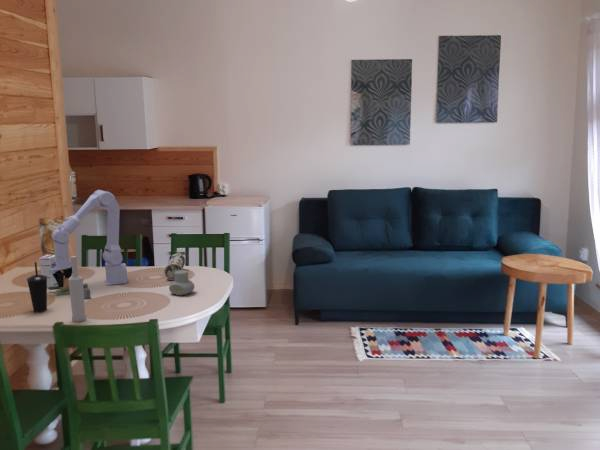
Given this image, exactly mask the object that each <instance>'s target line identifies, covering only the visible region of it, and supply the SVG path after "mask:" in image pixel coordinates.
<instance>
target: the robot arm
mask: <svg viewBox="0 0 600 450" xmlns="http://www.w3.org/2000/svg"><path fill="white" fill-rule="evenodd" d="M98 207H103V208H104V209H105V210H106V211H107V221H106V222H107V225H106V226H107V228H106V245H105V246H104V251H103V253H102V259H103V260H104V261H105V263H104V267H105V279H106V280H104V283H105V285H106V286H113V285H114V286H115V285H121V284H127V283H129V282H128V270H127V265H126V263H125V262H124V263H123V260H124V259H123V257H124V256H123V254H122V248H121V247H120V245H119V243H120V240H119V239H120V211H121V209H120V204H119V202H118V201H117V200H116V196H115V195H114V194H113V193H112V192H110V191H107V190H106V191H105V190H102V189H97V190H95V191H94V192H93V193H92V194H91V195H89V196H88V198H87V199H86V201H85V202H84V203H83V205H82V206H81V207H80V208H79V209H78V211H77V212H76V213H75V214H73V215H70V216H67V217H65V219H64V220H66V221H65V222H64V223H63V224H62V225H61V226H58V228H59V229H56V230H54V231H53V233H52V236H51V238H52V239H53V240H54V251H55V261H56V266H55V267H53V268H51V269H49V274H52V275H53V276H54V278H55V279H56V281H57V284H58V286H59V287H63V286H64V282H63V279H64V278H68V279H69V278H70V277H71V276H72V263H71V260H70V255H69V254H70V252H69V250H70V249H69V242H68V240H70V236H71V235H72V234H73V233H74V232H75V231H76V230H77V229H78V227H79V226H81V220H82V219H84V217H86V216H87V215H88V213H90V211H92V210H93V209H94V208H98ZM62 270H63V272H61V271H62Z"/></svg>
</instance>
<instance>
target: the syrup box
mask: <svg viewBox="0 0 600 450" xmlns="http://www.w3.org/2000/svg"><path fill="white" fill-rule="evenodd" d="M55 266H56V261H55V255H46V256H43V257H42V256H41V257H40V256H39V267H40V275H44V276H47V277H48V278H47V289H48V287H52V286H58V284H57V281H56V279H55V278H54V276H53V275H52V274H49V269H51V268H53V267H55Z"/></svg>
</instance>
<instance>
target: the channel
mask: <svg viewBox="0 0 600 450" xmlns="http://www.w3.org/2000/svg"><path fill="white" fill-rule="evenodd" d="M88 285H89V284H88V283H87V282H84V283H83V290H84V300H87V299H88V300H91V299H92V297H91V289H90V288H89V286H88Z"/></svg>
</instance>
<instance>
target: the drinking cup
mask: <svg viewBox="0 0 600 450" xmlns="http://www.w3.org/2000/svg"><path fill="white" fill-rule="evenodd" d="M37 264H38V263H37V262H34V270H35V274H33V275H31V276H29V277H27V278H26V282H27V285H28V289H29V290H28V291H29V294H30V299H31V300H30V301H31V304H32V309H33V312H34V313H43V312H46V311H47V310H48V298H47V297H48V288H47V278H48V277H47V276H44V275H41V273H40V274H38V265H37Z"/></svg>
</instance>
